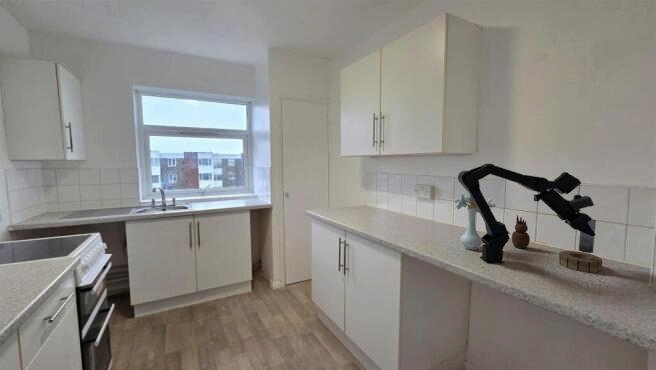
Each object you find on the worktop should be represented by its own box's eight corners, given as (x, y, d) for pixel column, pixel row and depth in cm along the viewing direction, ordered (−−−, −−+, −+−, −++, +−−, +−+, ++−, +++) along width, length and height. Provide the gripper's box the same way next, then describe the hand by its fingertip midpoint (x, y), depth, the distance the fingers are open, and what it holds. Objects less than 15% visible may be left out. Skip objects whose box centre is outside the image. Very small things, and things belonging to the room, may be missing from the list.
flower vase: (497, 248, 129) (500, 194, 126) (469, 254, 121) (471, 197, 119) (472, 240, 141) (474, 191, 138) (445, 246, 133) (447, 194, 130)
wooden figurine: (508, 246, 132) (510, 214, 130) (517, 244, 134) (519, 213, 132) (523, 250, 125) (525, 217, 124) (531, 249, 127) (533, 216, 126)
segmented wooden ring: (576, 272, 102) (577, 262, 101) (551, 260, 113) (551, 250, 113) (610, 272, 101) (611, 261, 101) (581, 260, 113) (582, 250, 113)
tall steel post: (584, 252, 102) (587, 220, 101) (575, 249, 106) (578, 218, 105) (596, 252, 102) (599, 220, 101) (586, 249, 106) (589, 218, 105)
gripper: (586, 191, 95) (627, 226, 91) (569, 185, 112) (603, 215, 108) (555, 212, 100) (593, 246, 96) (543, 203, 116) (575, 232, 112)
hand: (592, 234), depth 103 cm, fingers closed on tall steel post, 4 cm apart
